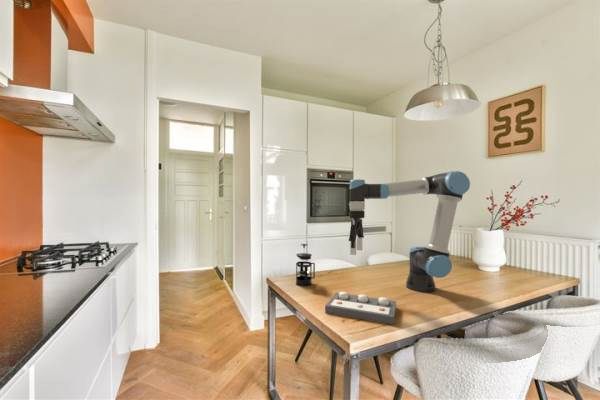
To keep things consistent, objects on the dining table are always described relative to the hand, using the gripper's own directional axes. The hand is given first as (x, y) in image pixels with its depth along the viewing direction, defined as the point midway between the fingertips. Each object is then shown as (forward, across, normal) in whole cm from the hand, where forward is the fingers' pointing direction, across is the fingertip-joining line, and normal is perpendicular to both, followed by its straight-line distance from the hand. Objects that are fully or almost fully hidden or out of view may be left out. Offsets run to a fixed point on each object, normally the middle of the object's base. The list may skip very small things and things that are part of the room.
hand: (356, 252), depth 136 cm
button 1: (+21, +12, -3) cm, 24 cm away
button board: (+22, +16, +6) cm, 28 cm away
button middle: (+21, +12, +6) cm, 24 cm away
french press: (+23, -8, -32) cm, 40 cm away
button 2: (+21, +11, +15) cm, 28 cm away
